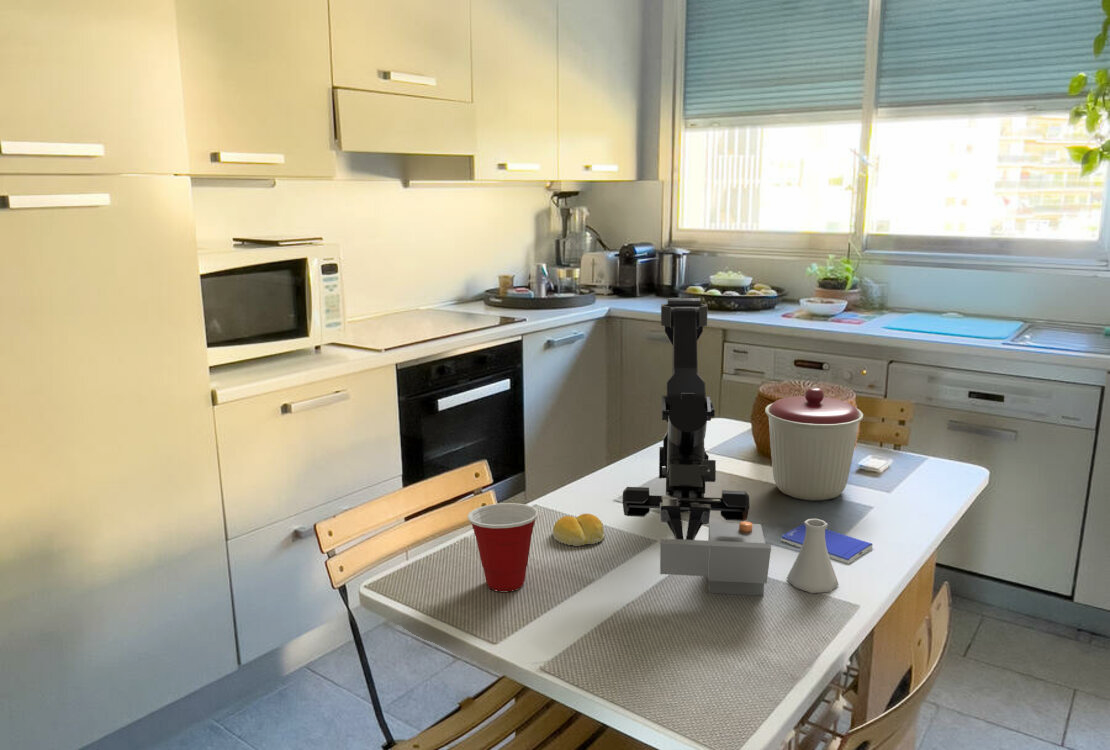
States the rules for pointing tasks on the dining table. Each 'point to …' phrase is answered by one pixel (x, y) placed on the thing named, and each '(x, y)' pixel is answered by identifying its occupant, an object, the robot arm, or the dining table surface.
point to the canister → (812, 444)
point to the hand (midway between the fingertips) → (684, 558)
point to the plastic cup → (504, 542)
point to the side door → (716, 559)
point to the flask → (813, 561)
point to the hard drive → (831, 544)
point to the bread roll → (579, 530)
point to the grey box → (736, 534)
